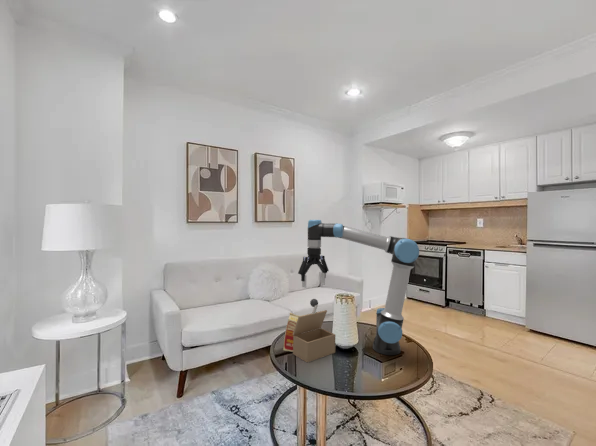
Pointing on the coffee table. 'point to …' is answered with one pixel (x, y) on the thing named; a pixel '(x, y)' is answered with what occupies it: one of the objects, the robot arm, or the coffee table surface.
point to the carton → (313, 344)
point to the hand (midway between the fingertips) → (313, 285)
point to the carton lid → (310, 320)
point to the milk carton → (290, 332)
